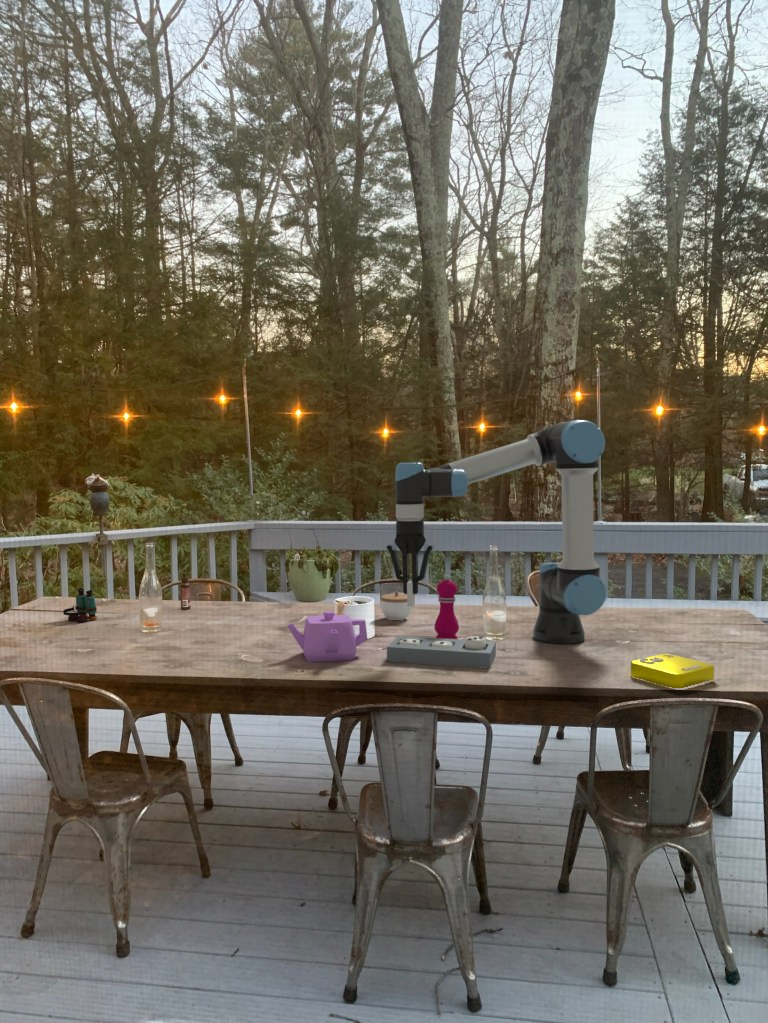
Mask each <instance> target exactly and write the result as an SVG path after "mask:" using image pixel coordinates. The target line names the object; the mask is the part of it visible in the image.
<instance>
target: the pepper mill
mask: <svg viewBox="0 0 768 1023" xmlns="http://www.w3.org/2000/svg"><path fill="white" fill-rule="evenodd" d="M450 579H451V577H450V575H448V574H446V575H444V576H443V580H441V581H440V582H438V584H437V586H436V592H437V594H438V600H437V601H438V603H439V606H440V607H439V613H438V616H437V618H436V619H435V622H434V631H435V632H436V636H435V638H444V639H458V635H457V633H458V632H459V630H460V625H459V621H458V619H457V616H456V614H455V611H454V609H455V608H454V604H455V602H456V596H455V595H456V594H457V592H458V586H457V584H456V582H455V581H453V580H450Z"/></svg>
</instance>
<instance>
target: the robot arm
mask: <svg viewBox="0 0 768 1023" xmlns="http://www.w3.org/2000/svg"><path fill="white" fill-rule="evenodd" d="M605 447H606V438H605V435H604V432H603V431H602V430H601V428H600V427H599V426H598V425H597V424H596V423H594V422H592V421H589V420H584V419H582V420H581V419H575V420H571V421H561V422H558V423H555V424H552V425H550V426H549V427H546V428H544V429H542V430H539V431H537V432H533V433H530V434H528V435H527V437H526V439H523V440H520V441H519V440H518V441H516V442H513V443H510V444H506V445H503V446H500V447H497V448H494V449H492V450H491V449H490V450H487V451H484V452H482V453H478V454H476V455H475V454H474V455H472V456H468V457H464V458H462V459H459V460H456V461H451V462H450V463H446V464H444V465H440V466H437V467H429V468H427V469H425V467H424V463H422V462H399V463H398V464H397V465H396V467H395V479H394V482H395V518H396V519H397V520H396V522H395V532H396V533H395V534H396V535H395V538H394V541H393V542H392V543H390V544H388V545H387V546H386V549H387V551H388V553H389V555H390V558H391V563H392V566H393V571H394V573H395V578H396V579H397V581H401V582H403V583H402V584H403V585H402V586H403V587H402V588H403V591H402V593H403V594H407V606H408V607H415V604H416V602H415V600H416V599H415V596H416V595H417V594H418V593H419V582H420V581H423V580H424V579H425V578H426V574H427V569H428V564H429V561H430V556H431V553H432V552H433V549H434V548H435V546H434V545H433V544H430V543H429V542H427V539H426V538H425V526H424V525H425V523H424V522H425V521H424V520H423V518H424V516H425V514H424V512H425V511H424V510H425V509H424V498H448V497H451V498H455V497H464V496H465V495H466V493H467V492H468V486H469V485H471V484H474V483H477V482H480V481H482V480H486V479H487V480H488V479H489V478H490V479H491V478H493V477H497V476H499V475H502V474H506V473H508V472H512V471H514V470H518V469H522V468H525V467H528V466H532V465H535V466H537V467H539V466H542V465H546V464H551V463H555V471H556V472H558V473H559V474H560V476H561V529H562V532H561V533H562V535H561V536H562V538H561V539H562V542H561V543H562V559H561V561H560V562H544V563H542V564H541V565H540V568H539V575H538V576H539V610H538V611H539V612H538V616H537V618H536V622H535V623H534V627H533V630H532V632H533V633H532V637H533V639H535V640H537V641H540V642H545V643H550V644H562V645H564V644H576V643H581V642H583V641H585V630H584V626H583V624H582V620H581V616H589V615H592V614H595V613H596V612H597V611H598V610H600V609H601V608H602V607H603V605H604V604H605V602H606V600H607V594H608V593H607V587H606V585H605V583H604V581H603V579H601V578H600V577H601V575H600V574H601V572H600V568H601V567H600V564H598V563H597V561H595V557H594V556H595V551H594V548H595V545H594V541H595V540H594V539H595V538H594V535H595V533H594V474H595V473H596V472H597V471H598V470H599V468H600V467H599V461H600V460H599V459H600V458H601V456H602V454H603V453H604V451H605ZM397 548H398V550H399V551H400V552H401V558H402V568H401V564H400V560H399V556H398V553H397ZM422 548H423V550H424V552H423V553H424V554H423V557H422V560H421V561H422V562H421V566H420V571H419V553H420V551H421V550H422ZM410 556H411V580H410Z"/></svg>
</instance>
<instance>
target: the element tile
mask: <svg viewBox="0 0 768 1023" xmlns="http://www.w3.org/2000/svg"><path fill="white" fill-rule="evenodd" d="M630 675H631V676H633V677H635V678H639V679H643V680H646V681H649V682H652V683H656V684H659V685H663V686H667V687H672V688H684V687H688V686H691V685H695V684H699V683H702V682H705V681H709V680H713V679H714V680H715V666H714V665H713V664H711V663H709V662H705V661H704V662H703V661H699V660H695V659H693V658H687V657H683V656H679V655H675V654H671V653H661V654H656V655H653V656H652V655H651V656H647V657H643V658H638V659H634V660H631V661H630ZM631 676H630V677H631Z"/></svg>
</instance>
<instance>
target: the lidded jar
mask: <svg viewBox="0 0 768 1023" xmlns="http://www.w3.org/2000/svg"><path fill="white" fill-rule="evenodd" d="M380 608H381V611H382V614H383V615H384V616H385V617H386V619H387V618H389V619H394V620H401V621H403V620H402V619H405V620H406V618H408V616H409V615H410V613H411V612H412V607H408V606H407V594H404V593H399V591H397V590H395V591H394V593H386V594H383V595H380Z"/></svg>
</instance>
